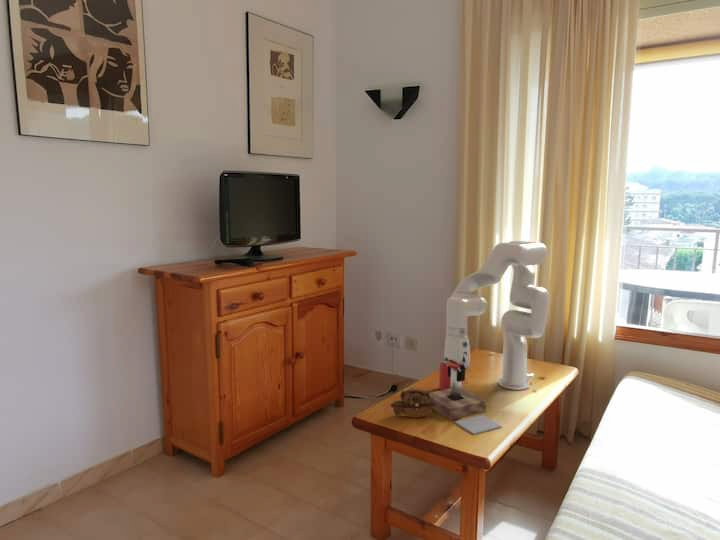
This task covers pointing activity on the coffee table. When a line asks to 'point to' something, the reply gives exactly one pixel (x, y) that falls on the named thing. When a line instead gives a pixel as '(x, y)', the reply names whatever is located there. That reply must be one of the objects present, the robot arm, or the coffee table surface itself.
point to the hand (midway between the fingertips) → (456, 378)
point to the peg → (455, 381)
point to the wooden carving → (413, 403)
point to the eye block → (457, 404)
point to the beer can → (444, 376)
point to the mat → (478, 424)
